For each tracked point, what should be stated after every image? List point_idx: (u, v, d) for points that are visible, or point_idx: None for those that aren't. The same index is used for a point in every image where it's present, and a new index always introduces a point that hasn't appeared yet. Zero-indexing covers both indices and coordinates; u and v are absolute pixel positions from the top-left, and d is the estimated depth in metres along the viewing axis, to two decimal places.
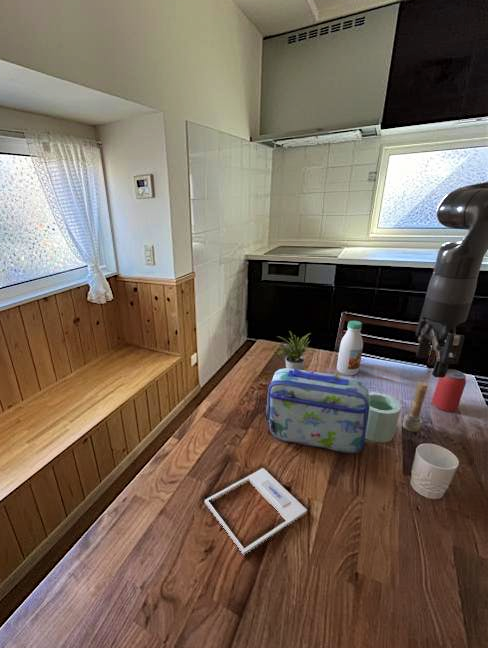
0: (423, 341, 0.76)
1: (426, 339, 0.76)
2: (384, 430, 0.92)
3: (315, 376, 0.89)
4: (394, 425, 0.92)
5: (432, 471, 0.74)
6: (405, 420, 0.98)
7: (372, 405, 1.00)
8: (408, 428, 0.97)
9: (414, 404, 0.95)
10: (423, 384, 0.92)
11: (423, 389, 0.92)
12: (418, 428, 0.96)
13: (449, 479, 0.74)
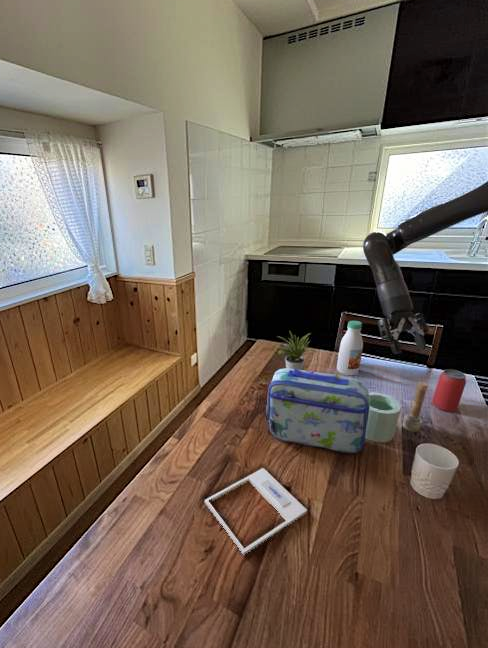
0: (415, 335, 0.98)
1: (417, 333, 0.97)
2: (384, 430, 0.92)
3: (315, 376, 0.89)
4: (394, 425, 0.92)
5: (432, 471, 0.74)
6: (405, 420, 0.98)
7: (372, 405, 1.00)
8: (408, 428, 0.97)
9: (414, 404, 0.95)
10: (423, 384, 0.92)
11: (423, 389, 0.92)
12: (418, 428, 0.96)
13: (449, 479, 0.74)
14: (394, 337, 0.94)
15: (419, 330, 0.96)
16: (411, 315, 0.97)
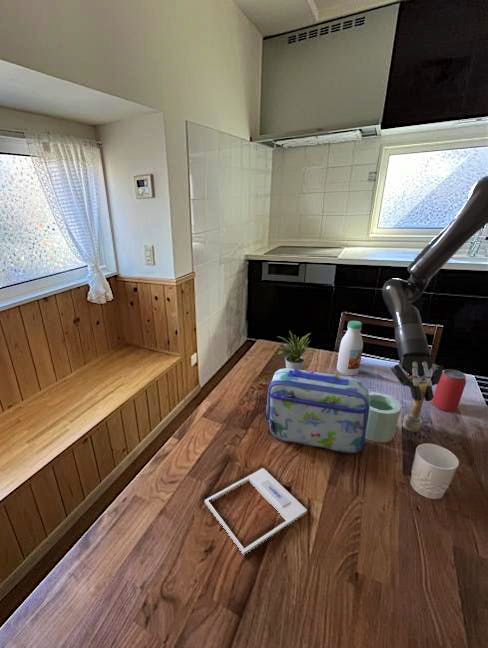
0: None
1: None
2: (384, 430, 0.92)
3: (315, 376, 0.89)
4: (394, 425, 0.92)
5: (432, 471, 0.74)
6: (405, 420, 0.98)
7: (372, 405, 1.00)
8: (408, 428, 0.97)
9: (414, 404, 0.95)
10: (423, 384, 0.92)
11: (423, 389, 0.92)
12: (418, 428, 0.96)
13: (449, 479, 0.74)
14: (414, 383, 0.93)
15: (428, 379, 0.93)
16: (428, 360, 0.95)
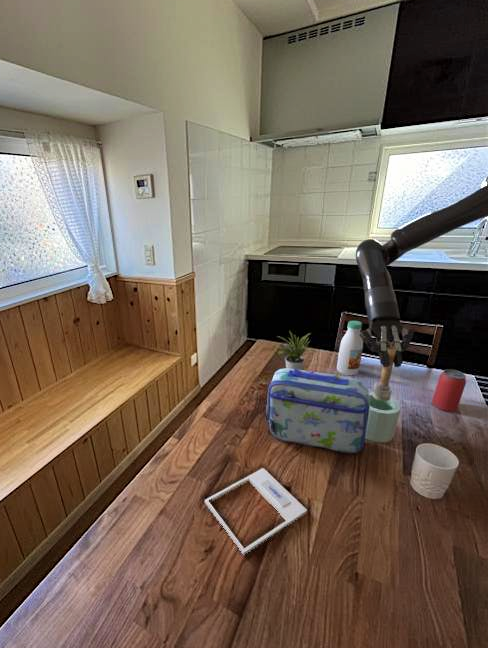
0: None
1: None
2: (384, 430, 0.92)
3: (315, 376, 0.89)
4: (394, 425, 0.92)
5: (432, 471, 0.74)
6: (374, 389, 0.93)
7: (372, 405, 1.00)
8: (377, 397, 0.92)
9: (383, 371, 0.90)
10: (392, 349, 0.87)
11: (392, 354, 0.87)
12: (388, 397, 0.91)
13: (449, 479, 0.74)
14: (382, 348, 0.88)
15: (397, 344, 0.88)
16: (398, 324, 0.90)
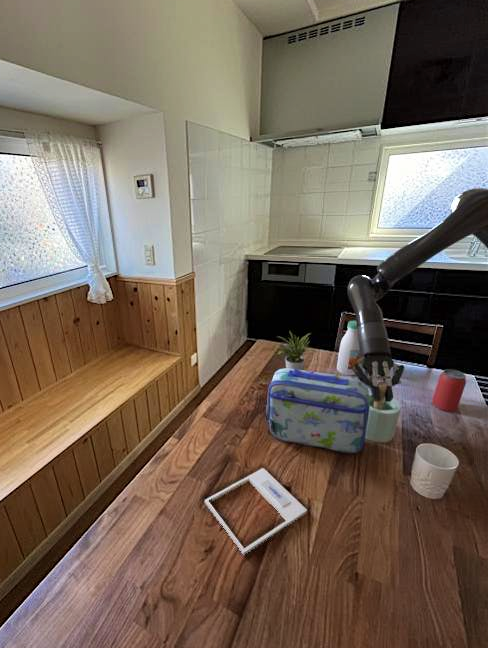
0: None
1: None
2: (384, 430, 0.92)
3: (315, 376, 0.89)
4: (394, 425, 0.92)
5: (432, 471, 0.74)
6: None
7: (372, 405, 1.00)
8: None
9: (375, 405, 0.93)
10: (382, 384, 0.90)
11: (383, 389, 0.90)
12: None
13: (449, 479, 0.74)
14: (373, 383, 0.91)
15: (388, 379, 0.91)
16: (389, 360, 0.93)
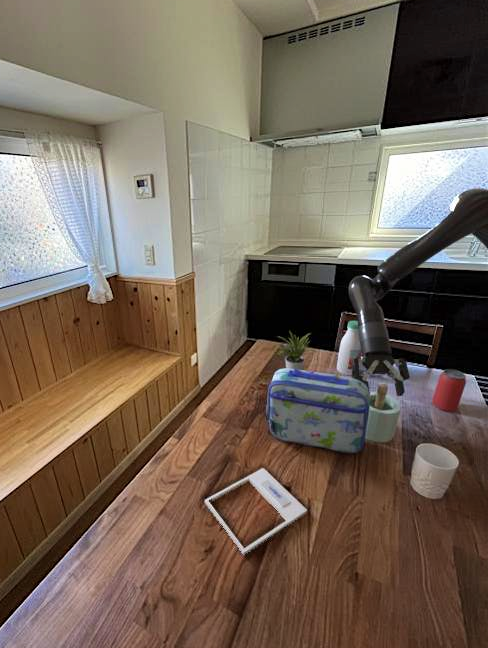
0: (395, 381, 0.94)
1: (396, 379, 0.93)
2: (384, 430, 0.92)
3: (315, 376, 0.89)
4: (394, 425, 0.92)
5: (432, 471, 0.74)
6: None
7: (372, 405, 1.00)
8: None
9: (375, 406, 0.95)
10: (383, 386, 0.92)
11: (384, 391, 0.92)
12: None
13: (449, 479, 0.74)
14: (363, 378, 0.93)
15: (397, 375, 0.92)
16: (390, 359, 0.94)
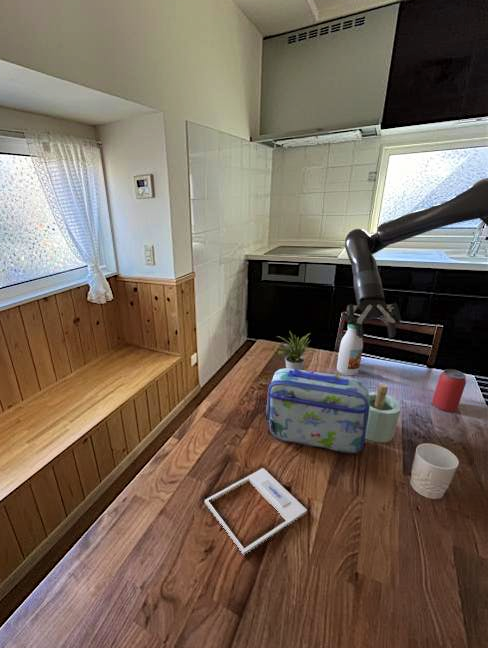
0: (388, 324, 1.00)
1: (389, 322, 0.99)
2: (384, 430, 0.92)
3: (315, 376, 0.89)
4: (394, 425, 0.92)
5: (432, 471, 0.74)
6: None
7: (372, 405, 1.00)
8: None
9: (375, 406, 0.95)
10: (383, 386, 0.92)
11: (384, 391, 0.92)
12: None
13: (449, 479, 0.74)
14: (357, 321, 0.99)
15: (389, 318, 0.99)
16: (383, 304, 1.00)
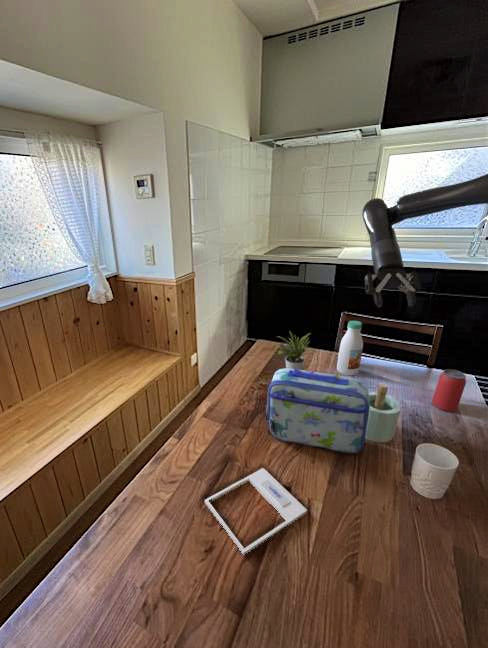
0: (407, 293, 0.98)
1: (408, 291, 0.98)
2: (384, 430, 0.92)
3: (315, 376, 0.89)
4: (394, 425, 0.92)
5: (432, 471, 0.74)
6: None
7: (372, 405, 1.00)
8: None
9: (375, 406, 0.95)
10: (383, 386, 0.92)
11: (384, 391, 0.92)
12: None
13: (449, 479, 0.74)
14: (376, 290, 0.98)
15: (409, 286, 0.97)
16: (402, 272, 0.99)
